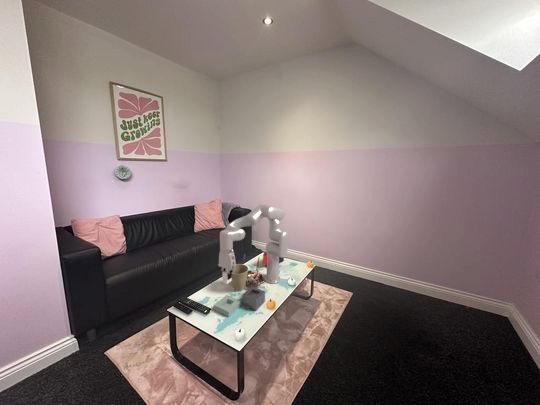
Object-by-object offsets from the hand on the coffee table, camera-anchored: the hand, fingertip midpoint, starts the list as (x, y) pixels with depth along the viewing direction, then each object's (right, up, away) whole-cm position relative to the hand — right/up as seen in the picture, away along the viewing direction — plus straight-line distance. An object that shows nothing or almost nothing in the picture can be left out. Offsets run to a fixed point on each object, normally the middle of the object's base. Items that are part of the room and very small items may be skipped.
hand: (227, 277), depth 129 cm
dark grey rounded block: (+16, -20, +8) cm, 27 cm away
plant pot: (+3, -17, +24) cm, 30 cm away
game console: (+31, -11, +64) cm, 72 cm away
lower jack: (0, -21, +4) cm, 21 cm away
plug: (0, -3, 0) cm, 3 cm away
